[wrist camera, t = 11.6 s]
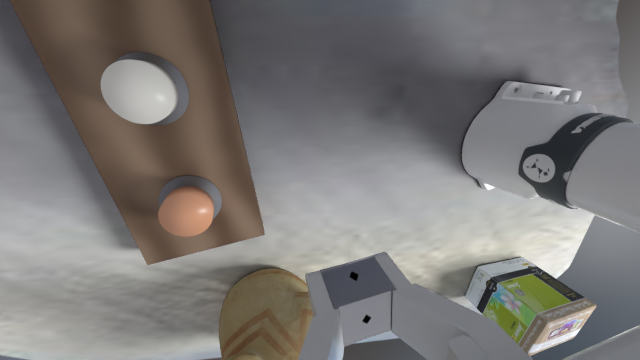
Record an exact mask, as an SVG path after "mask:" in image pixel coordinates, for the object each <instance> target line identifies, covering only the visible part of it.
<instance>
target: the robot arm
mask: <svg viewBox="0 0 640 360" xmlns="http://www.w3.org/2000/svg"><path fill="white" fill-rule="evenodd" d="M581 93H582V92H581V91H571V90H570V89H568V88H561V87H554V86H546V85H538V84H530V83H522V82H514V81H507V82H505V83H504V84H503V85H502V87H501V88H500V90H499V91H498V93H497V94H496V96H495V98H494V99H493V100H492V101H491V102H490V103H489V104H488V105H487V106H486V107H485V108H483V109H482V110H481V112H480V113H479V114H478V115H477V116H476V118H475V119H474V120H473V122H472V124H471V125H470V127H469V129H468V131H467V134H466V136H465V139H464V143H463V148H462V161H463V165H464V168H465V170H466V171H467V173H468V174H469V175H471V176H472V177H474V178H476V179H477V180H478V182H479V184H480V186H481V187H482V188H483V189H486V190H491V189H493V188H495V187H496V188H499V189H501V190H504V191H507V192H510V193H513V194H516V195H518V196H521V197H524V198H527V199H533V198H536V197H539V196H540V197H542V198H544V199H546V200H549V201H550V202H552V203H554V204H557V205H561V206H565V207H567V208H570V209H581V210H583V211H586V212H588V213H591V214H593V215H596V216H598V217H601V218H604V219H606V220H609V221H611V222H614V223H616V224H619V225H621V226H624V227H626V228H629V229H631V230H634V231H636V232H639V233H640V124H638V123H633V122H632V121H631V120H629V119H626V118H622V117H620V116H616V115H611V114H602V113H598V112H597V109H596V107H595V106H594V105H592V104H583V103H577V102H578V101H577V100H579V99H578V98H579V97H580V95H581ZM305 277H306V283H307V288H308V294H309V299H310V304H311V309H312V313H313V317H312V320H311V323H310V326H309V329H308V331H307V334H306V337H305V340H304V343H303V346H302V349H301V352H300V355H299V358H298V360H342V359H343V352H344V347H345V346H347V345H350V344H353V343H355V342H358V341H361V340H363V339H366V338H369V337H372V336H375V335H378V334H381V333H384V332H388V331H391V330H392V332H393V333H394V334H395V335H397V336H398V337H399V338H400V339H402V340H403V341H404V342H406V343H407V344H408V345H409V346H411V347H412V348H413V349H415V350H416V351H417V352H419V353H420V354H421V355H422V356H424V357H425V358H426V359H428V360H533V359H532V358H531V357H530V356H529V355H528V354H527V353H526V352H525V351H524V350H523V349H522V348H521V347H520V346H519V345H518V344H517V343H516V342H515V341H514V340H513V339H512V338H511V337H510V336H509V335H508V334H507V333H506V332H505V331H504V330H503V329H502V328H501V327H500V326H499V325H498V324H497V323H496V322H495V321H493V320H491V319H489V318H487V317H485V316H483V315H481V314H479V313H476V312H474V311H472V310H470V309H468V308H466V307H464V306H462V305H460V304H457V303H455V302H453V301H451V300H449V299H447V298H445V297H443V296H441V295H438V294H436V293H434V292H432V291H430V290H428V289H426V288H424V287H422V286H420V285H417V284H413V285H412V284H411V283H410V282H409V281H408V279H407V278H406V277H405V276H404V274H403V273H402V272H401V270H400V269H399V268H398V267H397V265H396V264H395V263H394V262H393V260H392V259H391V258H390V256H389V255H388V254H387V253H386V252H382V253H379V254H375V255H372V256H369V257H365V258H362V259H358V260H355V261H352V262H348V263H346V264H342V265H338V266H334V267H330V268H326V269H322V270H320V271H316V272H312V273H308V274H306V275H305ZM562 360H640V325H639V326H637V327H634V328H632V329H630V330H628V331H625V332H623V333H621V334H618V335H616V336H614V337H612V338H609V339H607V340H605V341H602V342H600V343H598V344H596V345H594V346H591V347H589V348H587V349H584V350H582V351H580V352H578V353H576V354H573V355H571V356H569V357H567V358H564V359H562Z"/></svg>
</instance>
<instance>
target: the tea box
mask: <svg viewBox="0 0 640 360" xmlns="http://www.w3.org/2000/svg"><path fill="white" fill-rule="evenodd" d="M465 296H466V298H467V299H468V300H469V301H470V302H471V303H472V304H473V305H474V306H475V307H476V308H477V309H478V310H479V311H480V312H481V313H482V314H483V315H484V316H485V317H487V318H489V319H491V320H493V321H495V322H496V323H497V324H498V325H499V326H500V327H501V328H502V329H503V330H504V331H505V332H506V333H507V334H508V335H509V336H510V337H511V338H512V339H513V340H514V341H515V342H516V343H517V344H518V345H519V346H520V347H521V348H522V349H523V350H524V351H525V352H526V353H527V354H528V355H529V356H530V355H533V354H535V353H538V352H540V351H543V350H545V349H548V348H550V347H553V346H555V345H558V344H560V343H563V342H565V341H567V340H570V339H572V338H574V337H575V336H576V334H577V333H578V332H579V330H580V329H581V327H582V326H583V324H584V323H585V322H586V320H587V319H588V318H589V316H590V315H591V313H592V312H593V310H594V309H595V308H596V305H595V304H593V303H592V302H590V301H589V300H588V299H586V298H585V297H583V296H582V295H580V294H578V293H577V292H575V291H574V290H572V289H571V288H569V287H568V286H566V285H564V284H563V283H561V282H560V281H558V280H557V279H555V278H554V277H552V276H551V275H549V274H548V273H546V272H545V271H543V270H541V269H540V268H538V267H537V266H536V265H534V264H533V263H531V262H529V261H528V260H526V259H525V258H523V257H521V258H516V259H511V260H506V261H502V262H497V263H492V264H487V265H482V266H478V267H477V269H476V271H475V273H474V276H473V278H472V280H471V283H470V285H469V288H468V290H467V293H466V295H465Z"/></svg>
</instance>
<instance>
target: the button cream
mask: <svg viewBox="0 0 640 360" xmlns="http://www.w3.org/2000/svg"><path fill="white" fill-rule="evenodd" d="M101 92H102V95H103V98H104V99H105V101H106V103H107V104H108V106H109V107H110V108H111V109H112V110H113V111H114V112H115V113H116V114H118V115H119V116H120V117H122V118H124V119H126V120H128V121H131V122H134V123H138V124H152V123H156V122H159V121H161V120H162V119H164V118H166V117H167V116H169V115H170V114H171V113H172V112H173V111H174V110H175V108H176V106H177V103H178V91H177V87H176V85H175V83H174V81H173V79H172V78H171V77H170V76H169V74H168V73H167V72H166V71H164V70H163V69H162V68H160V67H159V66H157V65H155V64H153V63H150V62H146V61H140V60H131V59H129V60H120V61H117V62H115V63H113V64H111V65H110V66H108V67H107V68H106V70H105V71H104V73H103V75H102V78H101Z"/></svg>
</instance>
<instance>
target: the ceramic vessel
mask: <svg viewBox="0 0 640 360" xmlns="http://www.w3.org/2000/svg"><path fill="white" fill-rule="evenodd" d="M312 317H313V313H312V309H311V304H310V299H309V294H308V288H307V284H306V283H305V282H304V281H303V280H302V279H300V278H299V277H297V276H296V275H294V274H292V273H290V272H288V271H285V270H282V269H276V268H272V269H263V270H259V271H256V272H253V273H251V274H249V275H247V276H245V277H243V278H242V279H241V280H239V281H238V282H237V283H236V284H235V285H234V286H233V287H232V288H231V289H230V291H229V293H228V294H227V296H226V298H225V300H224V302H223V306H222V310H221V314H220V322H219V341H220V349H221V356H222V360H298V358H299V355H300V352H301V349H302V346H303V343H304V340H305V337H306V334H307V331H308V329H309V326H310V323H311V320H312Z"/></svg>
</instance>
